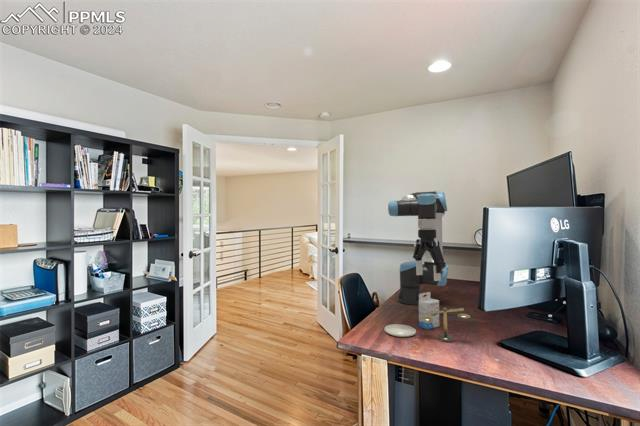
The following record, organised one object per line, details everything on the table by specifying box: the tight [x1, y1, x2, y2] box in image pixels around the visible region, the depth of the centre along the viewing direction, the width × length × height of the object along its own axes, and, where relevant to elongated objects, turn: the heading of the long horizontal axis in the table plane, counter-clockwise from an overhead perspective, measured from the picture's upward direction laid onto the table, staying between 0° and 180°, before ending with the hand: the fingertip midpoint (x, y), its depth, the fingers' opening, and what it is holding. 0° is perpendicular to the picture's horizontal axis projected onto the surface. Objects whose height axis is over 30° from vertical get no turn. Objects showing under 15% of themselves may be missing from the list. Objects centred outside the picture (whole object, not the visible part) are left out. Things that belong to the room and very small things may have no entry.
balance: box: [422, 306, 471, 343], centre depth 121 cm, size 6×18×13 cm, turn 66°
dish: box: [384, 323, 417, 338], centre depth 129 cm, size 13×13×1 cm
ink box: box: [418, 291, 440, 330], centre depth 136 cm, size 8×5×15 cm, turn 123°
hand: (427, 277), depth 131 cm, fingers open, 13 cm apart
